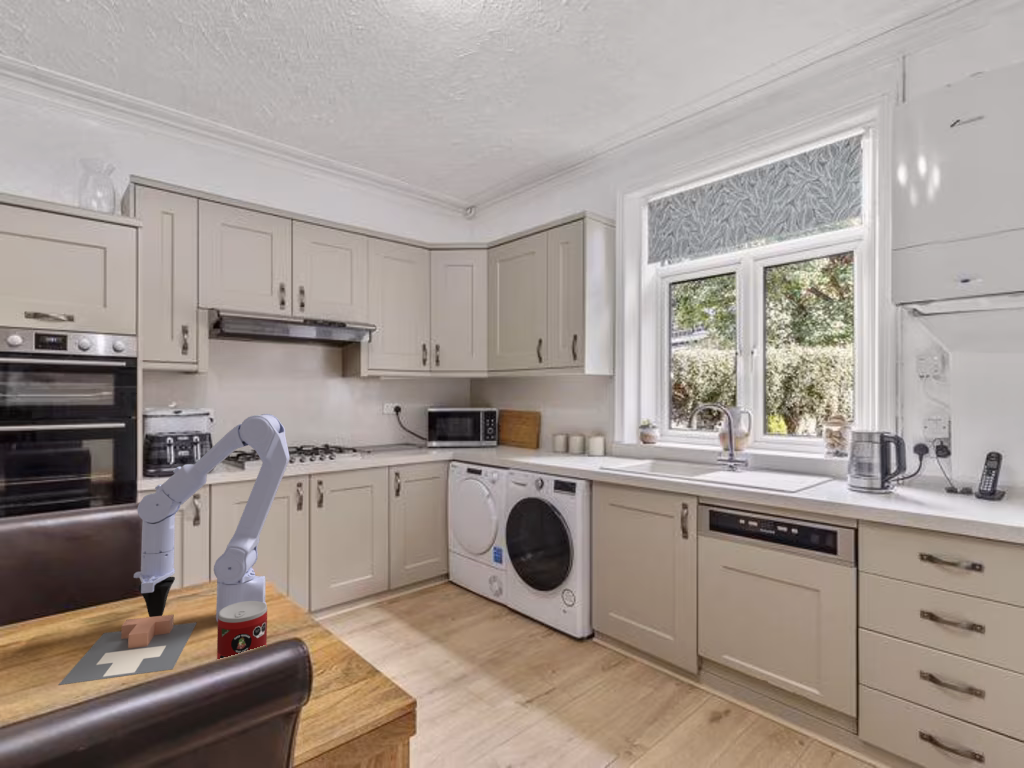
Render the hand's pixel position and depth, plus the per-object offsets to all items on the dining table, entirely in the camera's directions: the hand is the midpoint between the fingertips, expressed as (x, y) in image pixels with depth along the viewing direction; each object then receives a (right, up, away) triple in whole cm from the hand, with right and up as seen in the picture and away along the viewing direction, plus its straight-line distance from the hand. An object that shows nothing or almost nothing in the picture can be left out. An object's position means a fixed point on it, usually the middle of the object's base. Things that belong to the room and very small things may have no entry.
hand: (156, 616), depth 112 cm
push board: (+5, -2, -12) cm, 13 cm away
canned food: (+27, -2, -18) cm, 32 cm away
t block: (+3, -1, -8) cm, 8 cm away
